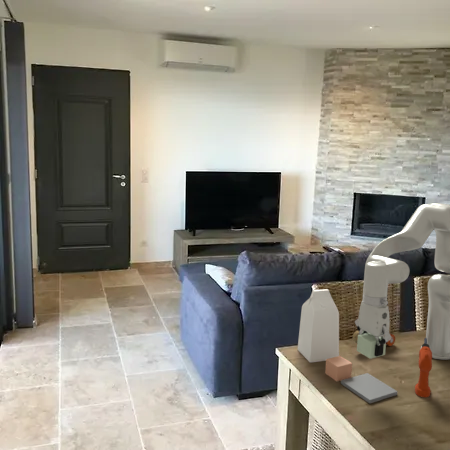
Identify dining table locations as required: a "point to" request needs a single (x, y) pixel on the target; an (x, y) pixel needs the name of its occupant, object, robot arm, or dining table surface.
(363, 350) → the sage block
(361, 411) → the dining table surface
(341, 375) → the terracotta block
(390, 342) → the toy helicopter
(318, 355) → the milk
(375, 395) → the gray plate
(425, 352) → the toy drill
